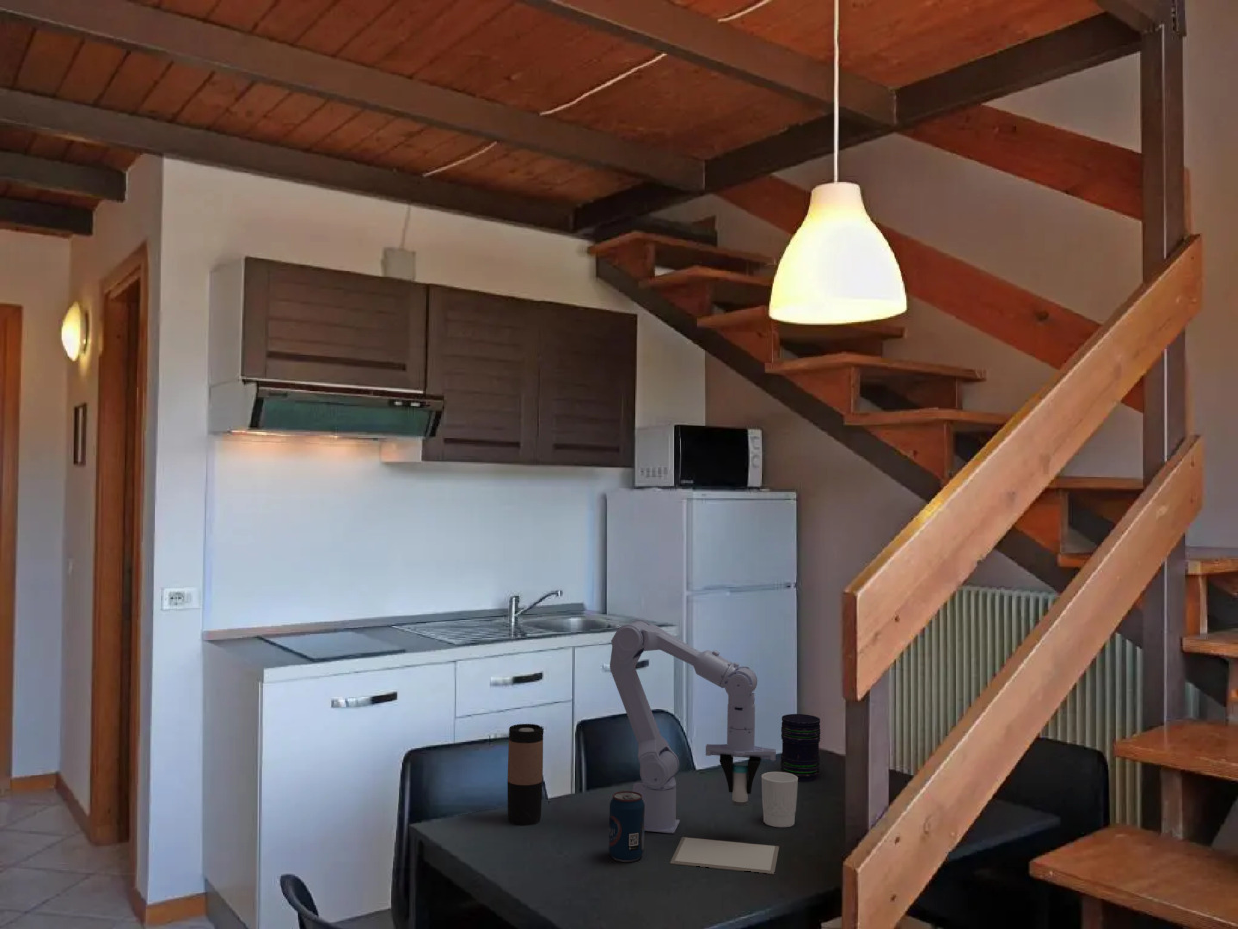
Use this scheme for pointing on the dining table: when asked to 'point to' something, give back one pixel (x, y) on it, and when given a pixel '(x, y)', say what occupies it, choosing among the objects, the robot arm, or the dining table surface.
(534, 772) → the travel mug
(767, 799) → the white cup
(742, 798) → the marker
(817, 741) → the storage jar
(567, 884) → the dining table surface
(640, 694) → the robot arm
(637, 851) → the soda can
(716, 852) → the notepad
